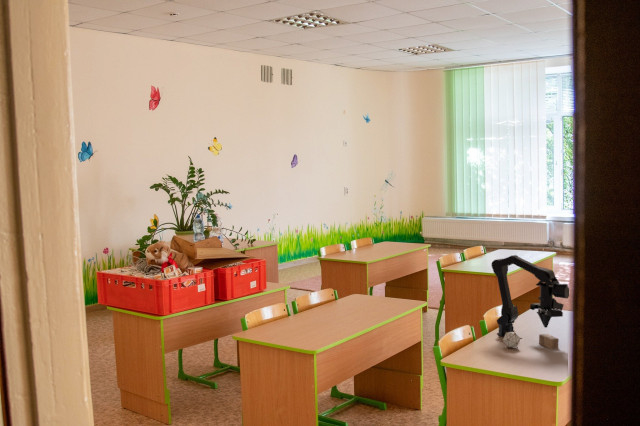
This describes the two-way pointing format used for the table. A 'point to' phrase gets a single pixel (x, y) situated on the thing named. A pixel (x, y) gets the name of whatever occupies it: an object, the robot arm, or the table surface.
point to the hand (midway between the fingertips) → (545, 327)
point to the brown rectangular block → (548, 340)
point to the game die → (511, 339)
